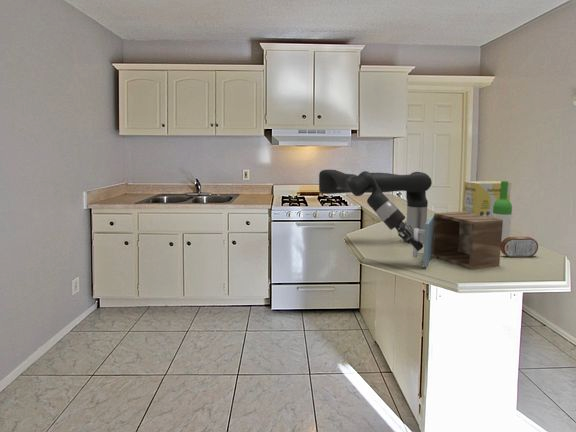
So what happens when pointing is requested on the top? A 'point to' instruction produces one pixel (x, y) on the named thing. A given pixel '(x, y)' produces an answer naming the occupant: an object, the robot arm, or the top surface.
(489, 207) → the pasta box
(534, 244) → the tin
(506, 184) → the wine bottle
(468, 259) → the cabinet
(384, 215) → the robot arm
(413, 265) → the top surface
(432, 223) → the door
